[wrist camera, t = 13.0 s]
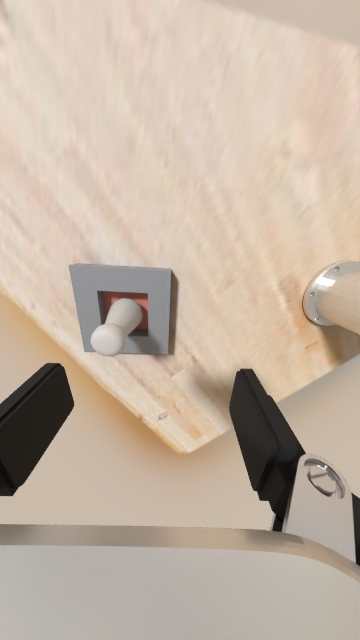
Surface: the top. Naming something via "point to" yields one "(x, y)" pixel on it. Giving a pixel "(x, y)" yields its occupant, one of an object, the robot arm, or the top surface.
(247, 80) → the top surface
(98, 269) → the socket board
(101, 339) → the white bulbous peg
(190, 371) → the top surface
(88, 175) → the top surface
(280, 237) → the top surface
